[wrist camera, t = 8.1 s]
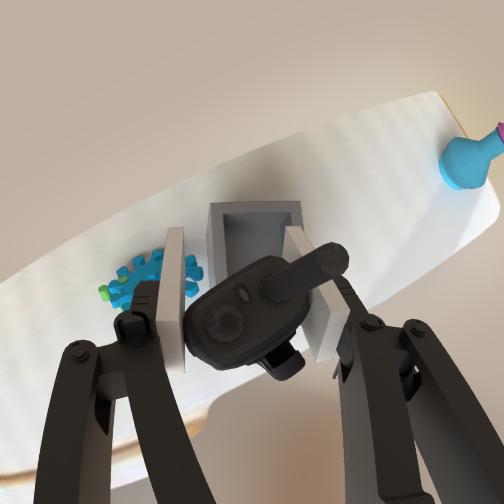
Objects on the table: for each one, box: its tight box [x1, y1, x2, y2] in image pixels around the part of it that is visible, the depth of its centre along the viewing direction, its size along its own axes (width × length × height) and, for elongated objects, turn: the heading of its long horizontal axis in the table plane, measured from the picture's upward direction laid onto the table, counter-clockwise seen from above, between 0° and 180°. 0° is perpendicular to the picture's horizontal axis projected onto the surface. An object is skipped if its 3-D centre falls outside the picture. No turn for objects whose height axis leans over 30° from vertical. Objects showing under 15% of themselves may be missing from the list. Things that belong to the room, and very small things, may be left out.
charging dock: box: [206, 201, 304, 289], centre depth 32 cm, size 8×10×10 cm
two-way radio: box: [184, 242, 349, 381], centre depth 13 cm, size 6×4×15 cm
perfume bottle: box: [439, 122, 504, 190], centre depth 39 cm, size 9×9×15 cm
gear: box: [98, 250, 203, 312], centre depth 32 cm, size 11×6×10 cm
